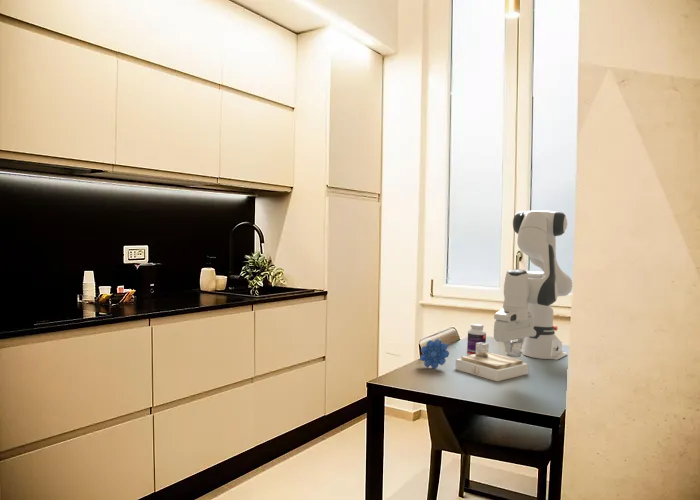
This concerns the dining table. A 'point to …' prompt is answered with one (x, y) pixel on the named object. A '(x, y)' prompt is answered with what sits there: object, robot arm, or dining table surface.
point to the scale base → (492, 370)
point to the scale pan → (492, 360)
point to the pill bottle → (475, 337)
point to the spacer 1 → (482, 349)
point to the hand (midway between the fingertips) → (513, 350)
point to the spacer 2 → (515, 349)
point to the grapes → (434, 353)
